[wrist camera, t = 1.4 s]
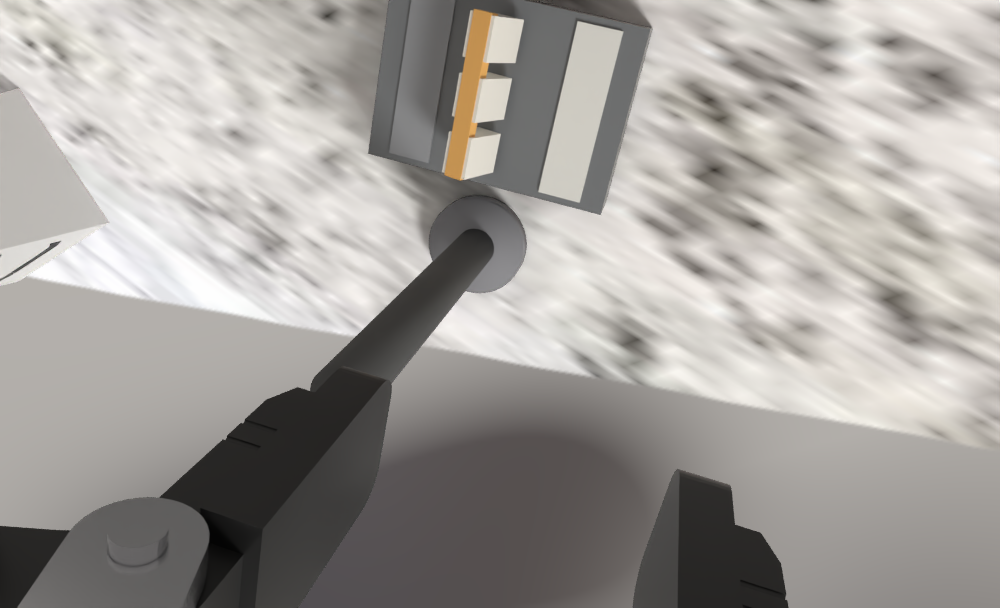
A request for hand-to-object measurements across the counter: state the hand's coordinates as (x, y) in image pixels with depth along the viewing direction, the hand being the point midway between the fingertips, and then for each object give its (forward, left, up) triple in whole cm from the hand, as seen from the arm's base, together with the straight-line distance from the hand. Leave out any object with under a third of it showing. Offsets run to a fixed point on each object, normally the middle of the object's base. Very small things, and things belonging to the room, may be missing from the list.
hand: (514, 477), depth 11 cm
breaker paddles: (+8, 0, -32) cm, 33 cm away
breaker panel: (+8, 0, -35) cm, 36 cm away
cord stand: (+8, +9, -35) cm, 37 cm away
